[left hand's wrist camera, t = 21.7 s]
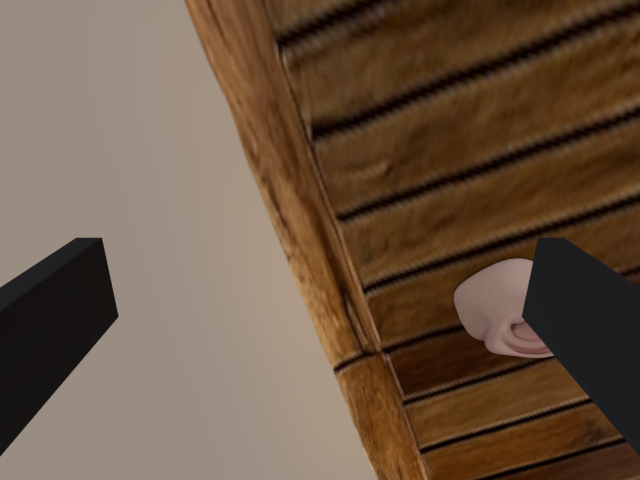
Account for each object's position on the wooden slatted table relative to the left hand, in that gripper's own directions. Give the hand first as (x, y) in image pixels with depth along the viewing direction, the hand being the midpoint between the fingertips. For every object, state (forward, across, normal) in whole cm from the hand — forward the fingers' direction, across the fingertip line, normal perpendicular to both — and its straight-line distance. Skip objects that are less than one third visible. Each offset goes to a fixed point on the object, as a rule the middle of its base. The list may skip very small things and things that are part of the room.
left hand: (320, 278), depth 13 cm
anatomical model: (+28, +22, -18) cm, 40 cm away
